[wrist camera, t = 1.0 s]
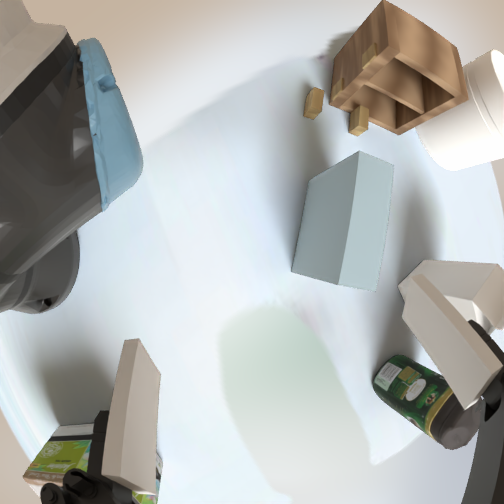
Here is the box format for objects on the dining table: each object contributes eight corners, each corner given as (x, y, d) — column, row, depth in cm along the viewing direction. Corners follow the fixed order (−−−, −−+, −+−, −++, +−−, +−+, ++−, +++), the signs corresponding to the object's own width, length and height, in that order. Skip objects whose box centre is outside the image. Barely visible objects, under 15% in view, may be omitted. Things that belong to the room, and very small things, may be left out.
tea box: (134, 414, 32) (111, 484, 18) (164, 461, 33) (157, 531, 19) (57, 423, 30) (19, 477, 15) (88, 468, 31) (65, 525, 16)
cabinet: (303, 116, 36) (358, 52, 20) (314, 50, 36) (357, -14, 20) (398, 154, 38) (472, 122, 23) (398, 88, 39) (456, 47, 23)
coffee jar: (419, 373, 40) (494, 413, 22) (390, 408, 39) (458, 460, 21) (396, 344, 39) (483, 385, 21) (363, 383, 38) (441, 443, 20)
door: (291, 271, 36) (337, 284, 23) (308, 180, 36) (359, 150, 23) (319, 277, 36) (375, 291, 24) (335, 188, 37) (393, 165, 24)
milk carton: (396, 285, 39) (498, 305, 20) (424, 258, 40) (521, 264, 21) (411, 321, 39) (504, 351, 21) (437, 293, 40) (527, 311, 22)
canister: (474, 168, 42) (550, 149, 23) (429, 173, 40) (523, 147, 20) (449, 96, 41) (515, 62, 22) (399, 88, 39) (475, 36, 19)
